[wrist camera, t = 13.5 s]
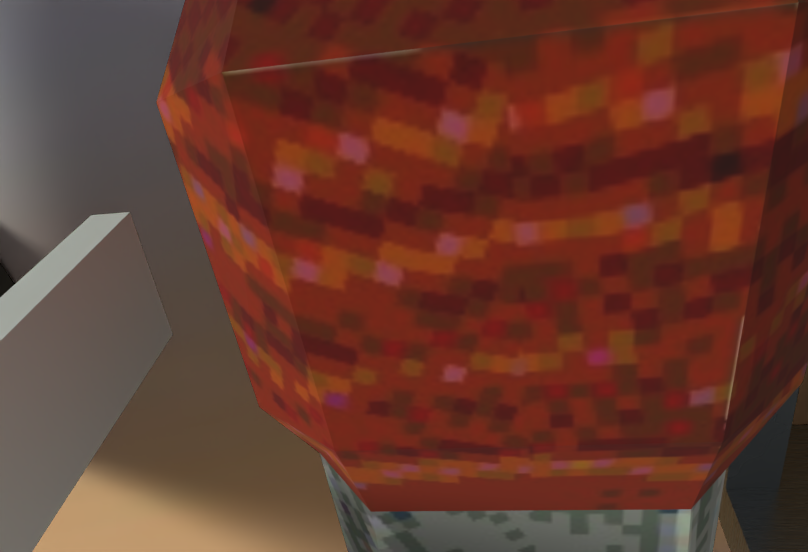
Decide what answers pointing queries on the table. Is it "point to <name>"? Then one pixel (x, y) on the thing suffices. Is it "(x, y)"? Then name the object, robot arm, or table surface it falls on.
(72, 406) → the robot arm
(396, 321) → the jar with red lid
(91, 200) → the table surface
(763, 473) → the rack
